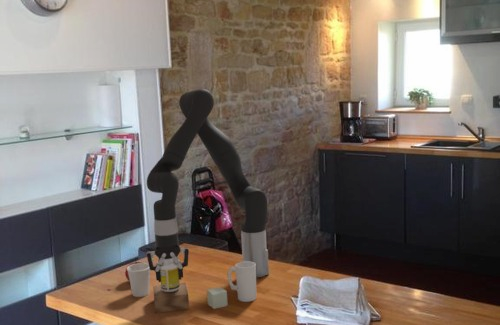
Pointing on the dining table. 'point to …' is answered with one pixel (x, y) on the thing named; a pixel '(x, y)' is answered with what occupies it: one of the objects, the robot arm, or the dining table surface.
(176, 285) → the pill bottle
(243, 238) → the robot arm
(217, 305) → the sage block
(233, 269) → the mug
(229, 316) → the dining table surface
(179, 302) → the walnut block
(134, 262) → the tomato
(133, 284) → the dixie cup
